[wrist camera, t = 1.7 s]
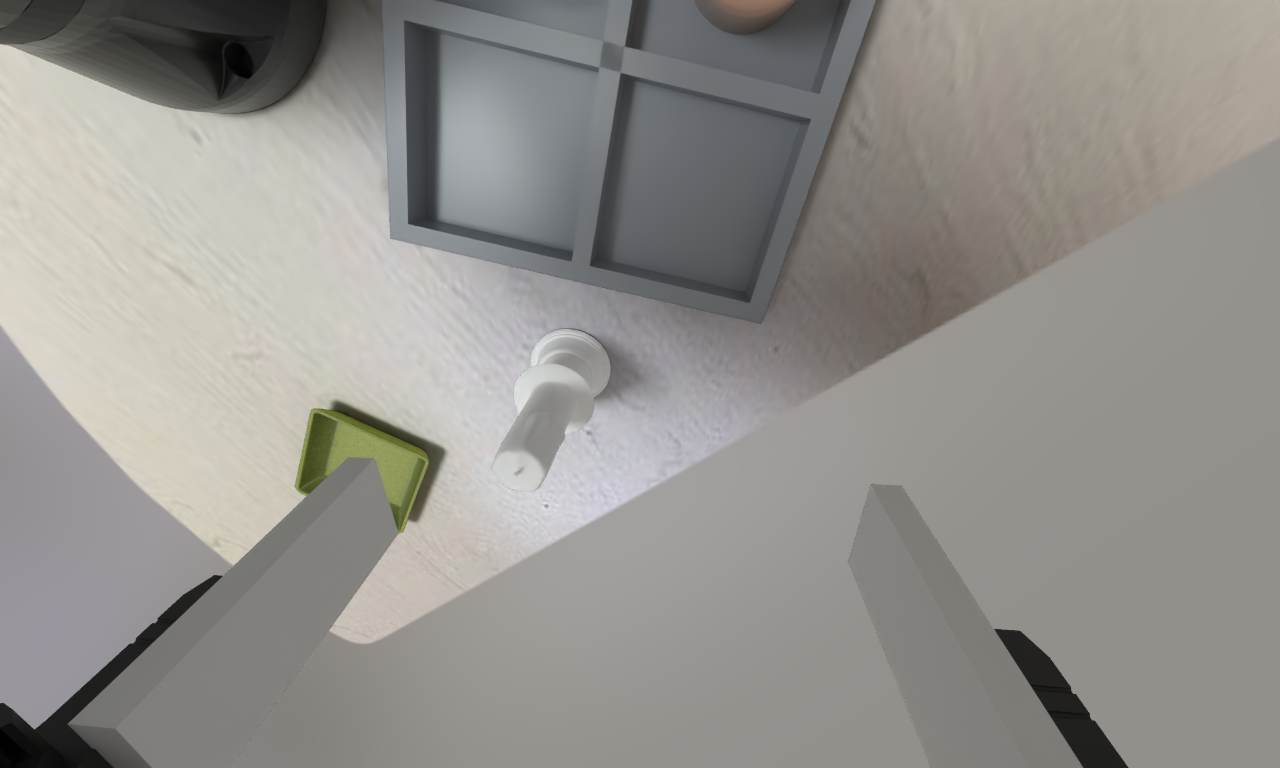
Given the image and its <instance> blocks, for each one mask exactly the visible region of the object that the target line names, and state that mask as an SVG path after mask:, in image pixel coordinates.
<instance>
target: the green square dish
mask: <svg viewBox="0 0 1280 768" xmlns="http://www.w3.org/2000/svg"><path fill="white" fill-rule="evenodd" d="M348 457H361V458H375V459H376V462H377V465H378V469H379V472H380V475H381V478H382V481H383V485H384V488H385V491H386V494H387V497H388V501H389V504H390V507H391V510H392V513H393V517H394V520H395V523H396V526H397V530H398V533H402V532H403V531H404V529H405V526H406V523H407V521H408V518H409V515H410V513H411V510H412V507H413V505H414V502H415V499H416V497H417V494H418V491H419V488H420V486H421V483H422V481H423V478H424V476H425V473H426V470H427V468H428V465H429V458H428V456H427V454H426V453H425V452H424V451H423V450H422V449H420V448H419V447H416V446H414V445H412V444H410V443H407V442H405V441H403V440H400V439H398V438H396V437H394V436H392V435H389V434H387V433H385V432H383V431H380V430H378V429H376V428H374V427H372V426H369V425H367V424H365V423H363V422H360V421H358V420H356V419H354V418H351V417H349V416H347V415H345V414H342V413H339V412H336V411H332V410H326V409H312V410H311V412H310V415H309V421H308V425H307V431H306V436H305V440H304V446H303V450H302V455H301V459H300V464H299V468H298V473H297V478H296V483H295V488H296V490H297V491H298V492H299V493H301V494H303V495H305V496H308V495H309V494H310V493H311V492H312V491H313V490H314V489H315V488H316V487H317V486H318V485H319V484H320V483H321V482H322V481H324V480H325V479H326V478H327V477H328V476H329V475H330V474H331V473H332V472H333V471H334V470H335V469H336V468H337V467H338V466H339V465H340V464H341V463H342V462H343V461H345V460H346V459H347V458H348Z"/></svg>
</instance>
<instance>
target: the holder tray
mask: <svg viewBox="0 0 1280 768" xmlns="http://www.w3.org/2000/svg"><path fill="white" fill-rule="evenodd" d="M875 2H876V0H796V2H795V3H794V4H793V5H792V7H791V8H790V9H789V10H788V11H787V12H786V13H785V15H784V16H783V17H781V18H780V19H779V20H778V21H777V22H776V23H774V24H772V25H771V26H769V27H768V28H766V29H764V30H761V31H759V32H755V33H752V34H745V35H737V34H731V33H728V32H725V31H722V30H720V29H718V28H716V27H715V26H714V25H712V24H711V23H710V22H709V21H708V20H707V19H706V18H705V17H704V16H703V15H702V14H701V12H700V11H699V10H698V8H697V6H696V4H695V2H694V0H382V27H383V54H384V81H385V108H386V135H387V161H388V188H389V215H390V238H391V239H395V240H399V241H404V242H408V243H412V244H417V245H421V246H425V247H430V248H434V249H438V250H443V251H447V252H451V253H456V254H460V255H464V256H469V257H473V258H477V259H482V260H486V261H490V262H495V263H499V264H503V265H508V266H512V267H516V268H521V269H525V270H529V271H534V272H538V273H542V274H547V275H551V276H555V277H560V278H564V279H568V280H573V281H577V282H581V283H586V284H590V285H594V286H599V287H603V288H607V289H612V290H616V291H620V292H625V293H629V294H633V295H638V296H642V297H646V298H651V299H655V300H659V301H664V302H668V303H672V304H677V305H681V306H685V307H690V308H694V309H698V310H703V311H707V312H711V313H716V314H720V315H724V316H729V317H733V318H738V319H742V320H746V321H751V322H755V323H759V324H762V321H763V319H764V316H765V313H766V310H767V307H768V304H769V302H770V299H771V296H772V293H773V290H774V287H775V285H776V282H777V279H778V276H779V273H780V270H781V268H782V265H783V262H784V259H785V256H786V253H787V251H788V248H789V245H790V242H791V239H792V236H793V234H794V231H795V228H796V225H797V222H798V220H799V217H800V214H801V211H802V208H803V205H804V203H805V200H806V197H807V194H808V191H809V188H810V186H811V183H812V180H813V177H814V174H815V171H816V169H817V166H818V163H819V160H820V157H821V154H822V152H823V149H824V146H825V143H826V140H827V137H828V135H829V132H830V129H831V126H832V123H833V120H834V118H835V115H836V112H837V109H838V106H839V104H840V101H841V98H842V95H843V92H844V89H845V87H846V84H847V81H848V78H849V75H850V72H851V70H852V67H853V64H854V61H855V58H856V55H857V53H858V50H859V47H860V44H861V41H862V38H863V36H864V33H865V30H866V27H867V24H868V21H869V19H870V16H871V13H872V10H873V7H874V5H875Z"/></svg>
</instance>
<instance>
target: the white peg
mask: <svg viewBox="0 0 1280 768" xmlns="http://www.w3.org/2000/svg"><path fill="white" fill-rule="evenodd" d="M610 372H611V367H610V361H609V358H608V355H607V353H606V351H605V349H604V348H603V347H602V345H601V344H600V343H599V342H598V341H597V340H596V339H594V338H593V337H592V336H590V335H588V334H586V333H584V332H581V331H578V330H573V329H560V330H555V331H552V332H550V333H548V334H546V335H545V336H543V337H542V338H541V339H540V340H539V341H538V342H537V344H536V345H535V347H534V349H533V351H532V355H531V367H530V368H529V369H527V370H526V371H524V372H523V373H522V374H521V375H520V377H519V378H518V380H517V382H516V384H515V387H514V402H515V405H516V408H517V410H518V412H519V416H518V417H517V419H516V421H515V422H514V424H513V426H512V427H511V429H510V431H509V432H508V434H507V436H506V437H505V439H504V441H503V442H502V443H501V446H500V448H499V450H498V452H497V454H496V456H495V459H494V461H493V463H492V466H491V469H492V472H493V473H494V474H495V476H496V477H497V479H498V480H499V481H500V482H501V483H502V484H503V485H504V486H506V487H508V488H510V489H512V490H515V491H528V492H532V491H536V490H537V489H538V488H539V487H540V486H541V484H542V482H543V481H544V479H545V477H546V476H547V474H548V472H549V469H550V467H551V465H552V462H553V460H554V458H555V455H556V453H557V451H558V449H559V447H560V445H561V443H562V442H563V440H564V438H565V434H570V433H573V432H576V431H578V430H579V429H581V428H582V427H584V426H585V425H586V424H587V423H588V421H589V420H590V418H591V416H592V414H593V411H594V397H596V396H597V395H599V394H600V393H601V392H602V391H603V390H604V388H605V387H606V385H607V383H608V381H609V378H610Z"/></svg>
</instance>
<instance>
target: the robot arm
mask: <svg viewBox="0 0 1280 768" xmlns="http://www.w3.org/2000/svg"><path fill="white" fill-rule="evenodd" d="M325 11H326V0H0V44H2V45H9V46H12V47H14V48H17V49H19V50H22V51H24V52H27V53H29V54H31V55H34V56H36V57H39V58H41V59H44V60H46V61H49V62H51V63H54V64H56V65H59V66H61V67H63V68H66V69H68V70H71V71H73V72H76V73H78V74H81V75H83V76H86V77H88V78H90V79H93V80H95V81H98V82H100V83H103V84H105V85H108V86H110V87H113V88H115V89H117V90H120V91H122V92H125V93H127V94H130V95H132V96H135V97H137V98H140V99H142V100H145V101H148V102H151V103H154V104H158V105H162V106H166V107H169V108H174V109H180V110H187V111H197V112H211V113H230V114H234V113H245V112H250V111H254V110H258V109H261V108H264V107H266V106H269V105H270V104H272V103H274V102H276V101H278V100H279V99H281V98H282V97H284V96H285V95H286V94H287V93H288V92H289V91H291V90H292V89H293V88H294V87H295V85H296V84H297V83H298V82H299V81H300V79H301V78H302V77H303V75H304V74H305V72H306V71H307V69H308V67H309V66H310V64H311V62H312V60H313V58H314V55H315V53H316V50H317V47H318V44H319V41H320V38H321V34H322V29H323V25H324V18H325ZM397 535H398V530H397V526H396V523H395V520H394V517H393V513H392V510H391V507H390V504H389V501H388V497H387V494H386V491H385V488H384V485H383V481H382V478H381V475H380V472H379V469H378V465H377V462H376V459H375V458H361V457H348V458H347V459H346V460H345V461H343V462H342V463H341V464H340V465H339V466H338V467H337V468H336V469H335V470H334V471H333V472H332V473H331V474H330V475H329V476H328V477H327V478H326V479H325V480H324V481H322V482H321V483H320V484H319V485H318V486H317V487H316V488H315V489H314V490H313V491H312V492H311V493H310V494H309V495H308V496H307V497H306V498H305V499H304V500H303V501H301V502H300V503H299V504H298V505H297V506H296V507H295V508H294V509H293V510H292V511H291V512H290V513H289V514H288V515H287V516H286V517H285V518H284V519H283V520H282V521H280V522H279V523H278V524H277V525H276V526H275V527H274V528H273V529H272V530H271V531H270V532H269V533H268V534H267V535H266V536H265V537H264V538H263V539H262V540H260V541H259V542H258V543H257V544H256V545H255V546H254V547H253V548H252V549H251V550H250V551H249V552H248V553H247V554H246V555H245V556H244V557H243V558H242V559H241V560H239V561H238V562H237V563H236V564H235V565H234V566H233V567H232V568H231V569H230V570H229V571H228V572H227V573H226V574H225V575H224V576H218V575H214V576H212V577H211V578H209V579H208V580H206V581H204V582H203V583H201V584H200V585H198V586H197V587H195V588H193V589H192V590H191V591H189V592H187V593H186V594H184V595H183V596H182V597H180V598H179V599H178V600H177V601H176V602H175V603H174V604H173V605H172V606H171V607H170V608H168V610H166V611H165V612H164V613H163V614H162V615H161V616H160V617H159V618H158V621H157V622H156V623H152V624H151V625H150V626H149V627H148V628H147V629H145V630H144V631H143V632H142V633H141V634H140V635H139V636H138V637H137V638H136V641H135V642H134V643H133V644H129V645H128V646H127V647H126V648H125V649H124V650H122V651H121V652H120V653H119V654H118V655H117V656H116V657H115V658H114V659H113V660H112V661H111V662H109V663H108V664H107V665H106V666H105V667H104V668H103V669H102V670H101V671H99V673H97V674H96V675H95V676H94V677H93V678H92V679H91V680H90V681H89V682H87V683H86V684H85V685H84V686H83V687H82V688H81V689H80V690H79V691H78V692H76V693H75V694H74V695H73V696H72V697H71V698H70V699H69V700H68V701H67V702H66V703H65V704H63V705H62V706H61V707H60V708H59V709H58V710H57V711H56V712H55V713H54V714H52V715H51V716H50V717H49V718H48V719H47V720H46V721H45V722H43V723H42V724H41V725H40V726H39V727H37V728H36V729H35V730H34V729H33V728H32V727H31V726H30V725H29V724H28V723H26V722H25V721H24V720H23V719H22V718H21V717H20V716H19V715H18V714H17V713H15V711H13V710H12V709H11V708H10V707H8V706H7V705H5V704H4V703H0V768H230V767H231V766H232V765H233V763H234V762H235V761H236V759H237V758H238V756H239V755H240V754H241V752H242V751H243V749H244V748H245V747H246V745H247V744H248V742H249V741H250V740H251V738H252V737H253V735H254V734H255V733H256V731H257V730H258V729H259V727H260V726H261V724H262V723H263V722H264V720H265V719H266V717H267V716H268V714H269V713H270V712H271V710H272V709H273V708H274V706H275V705H276V703H277V702H278V701H279V699H280V698H281V696H282V695H283V694H284V692H285V691H286V689H287V688H288V686H289V685H290V684H291V682H292V681H293V680H294V678H295V677H296V676H297V674H298V673H299V671H300V670H301V669H302V667H303V666H304V664H305V663H306V662H307V660H308V659H309V657H310V656H311V655H312V653H313V652H314V650H315V649H316V648H317V646H318V644H319V643H320V642H321V641H322V639H323V638H324V637H325V635H326V634H327V632H328V631H329V630H330V628H331V627H332V625H333V624H334V623H335V621H336V620H337V618H338V617H339V616H340V614H341V613H342V611H343V610H344V609H345V607H346V606H347V604H348V603H349V602H350V600H351V599H352V598H353V596H354V595H355V593H356V592H357V591H358V589H359V588H360V586H361V585H362V584H363V582H364V581H365V579H366V578H367V577H368V575H369V574H370V572H371V571H372V570H373V568H374V567H375V565H376V564H377V563H378V561H379V560H380V559H381V557H382V556H383V554H384V553H385V552H386V550H387V549H388V547H389V546H390V545H391V543H392V542H393V540H394V539H395V538H396V536H397ZM848 563H849V566H850V568H851V570H852V573H853V575H854V578H855V581H856V583H857V586H858V588H859V591H860V593H861V596H862V598H863V600H864V603H865V606H866V608H867V611H868V613H869V616H870V618H871V621H872V623H873V626H874V628H875V631H876V633H877V636H878V638H879V641H880V643H881V645H882V648H883V650H884V653H885V656H886V658H887V661H888V663H889V666H890V668H891V670H892V673H893V675H894V678H895V680H896V683H897V685H898V688H899V690H900V693H901V695H902V698H903V700H904V703H905V706H906V708H907V711H908V713H909V715H910V718H911V721H912V723H913V725H914V728H915V731H916V733H917V736H918V738H919V740H920V743H921V745H922V748H923V751H924V753H925V756H926V758H927V760H928V763H929V766H930V768H1128V766H1127V765H1126V764H1125V762H1124V761H1123V759H1122V758H1121V757H1120V755H1119V754H1118V753H1117V751H1116V750H1115V748H1114V747H1113V745H1112V744H1111V743H1110V741H1109V740H1108V739H1107V737H1106V736H1105V734H1104V733H1103V731H1102V730H1101V729H1100V727H1099V726H1098V725H1097V723H1096V722H1095V721H1092V720H1091V718H1090V713H1089V712H1088V711H1087V709H1086V708H1085V707H1084V705H1083V704H1082V702H1081V701H1080V700H1079V698H1078V697H1077V695H1076V694H1073V693H1072V691H1071V687H1070V685H1069V684H1068V683H1067V681H1066V680H1065V678H1064V677H1063V676H1062V674H1061V673H1060V671H1059V670H1058V669H1057V667H1056V666H1055V665H1054V663H1053V662H1052V660H1051V659H1050V657H1048V656H1047V655H1046V654H1045V653H1044V652H1043V651H1042V650H1041V649H1039V648H1038V647H1037V646H1036V645H1035V644H1034V643H1033V642H1032V641H1031V640H1030V639H1028V638H1027V637H1026V636H1025V635H1024V634H1023V633H1022V632H1021V631H1016V630H1001V629H993V627H992V625H991V624H990V622H989V621H988V619H987V617H986V616H985V614H984V613H983V611H982V610H981V609H980V607H979V605H978V603H977V602H976V600H975V599H974V597H973V596H972V594H971V593H970V591H969V590H968V588H967V586H966V585H965V584H964V582H963V580H962V579H961V577H960V576H959V574H958V572H957V571H956V569H955V568H954V566H953V565H952V563H951V562H950V560H949V559H948V557H947V555H946V554H945V552H944V551H943V549H942V548H941V546H940V545H939V543H938V541H937V540H936V539H935V537H934V535H933V534H932V532H931V531H930V529H929V527H928V526H927V524H926V523H925V521H924V520H923V518H922V517H921V515H920V513H919V512H918V510H917V509H916V508H915V506H914V504H913V503H912V501H911V499H910V498H909V497H908V495H907V493H906V492H905V490H904V489H903V487H902V486H894V485H875V484H871V485H870V488H869V492H868V495H867V498H866V502H865V505H864V509H863V512H862V515H861V519H860V522H859V526H858V529H857V532H856V536H855V539H854V542H853V546H852V549H851V553H850V556H849V559H848Z"/></svg>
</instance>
